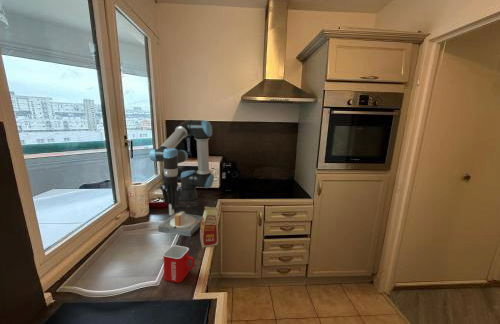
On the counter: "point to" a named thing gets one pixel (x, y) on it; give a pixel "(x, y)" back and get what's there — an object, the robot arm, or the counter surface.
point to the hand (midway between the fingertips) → (171, 214)
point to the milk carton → (209, 227)
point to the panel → (189, 231)
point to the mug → (176, 263)
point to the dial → (182, 221)
